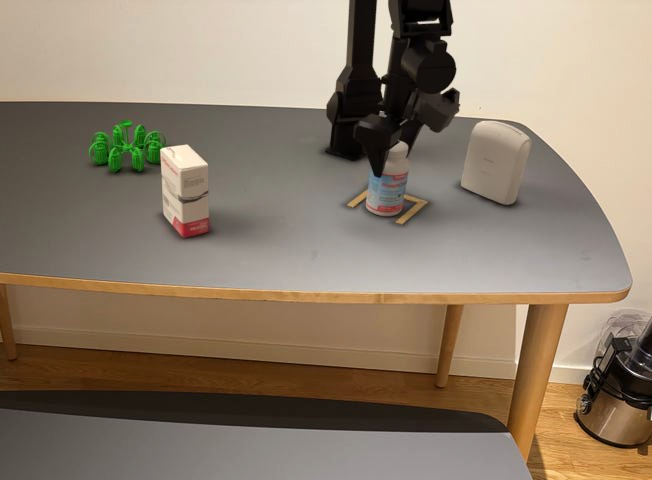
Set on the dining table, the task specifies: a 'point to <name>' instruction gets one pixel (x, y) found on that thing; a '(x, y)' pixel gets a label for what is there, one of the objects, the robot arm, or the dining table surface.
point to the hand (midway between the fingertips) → (391, 166)
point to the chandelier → (127, 147)
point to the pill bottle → (389, 183)
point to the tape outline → (415, 208)
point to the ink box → (185, 190)
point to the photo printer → (496, 161)
